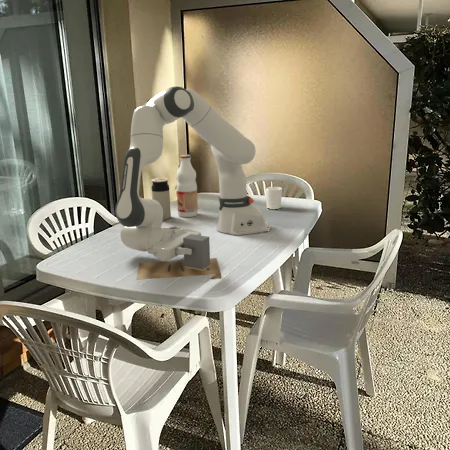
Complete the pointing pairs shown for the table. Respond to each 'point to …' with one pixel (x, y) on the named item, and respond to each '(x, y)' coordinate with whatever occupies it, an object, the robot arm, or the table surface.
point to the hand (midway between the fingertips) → (198, 247)
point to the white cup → (273, 197)
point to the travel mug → (162, 195)
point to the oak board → (175, 269)
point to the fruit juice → (186, 188)
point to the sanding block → (197, 252)
